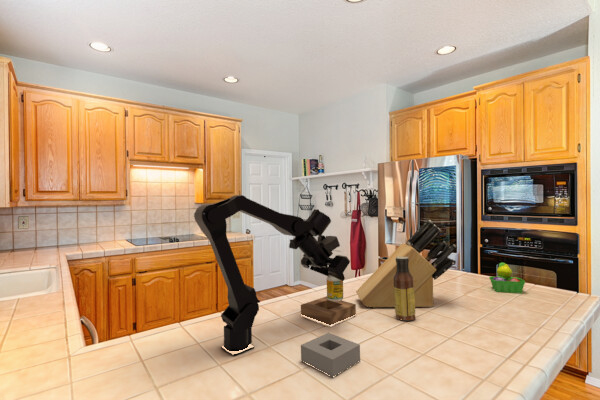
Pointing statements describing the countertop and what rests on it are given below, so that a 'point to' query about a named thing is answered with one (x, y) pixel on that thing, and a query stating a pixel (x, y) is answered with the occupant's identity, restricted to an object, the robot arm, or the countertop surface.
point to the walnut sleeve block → (328, 310)
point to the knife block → (382, 280)
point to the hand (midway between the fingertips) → (337, 278)
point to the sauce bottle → (404, 290)
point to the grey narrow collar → (330, 353)
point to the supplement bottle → (334, 289)
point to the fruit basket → (506, 281)
